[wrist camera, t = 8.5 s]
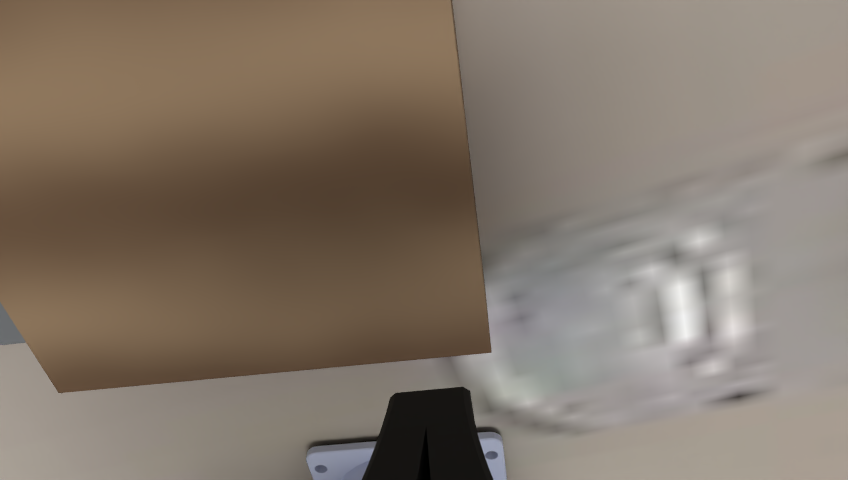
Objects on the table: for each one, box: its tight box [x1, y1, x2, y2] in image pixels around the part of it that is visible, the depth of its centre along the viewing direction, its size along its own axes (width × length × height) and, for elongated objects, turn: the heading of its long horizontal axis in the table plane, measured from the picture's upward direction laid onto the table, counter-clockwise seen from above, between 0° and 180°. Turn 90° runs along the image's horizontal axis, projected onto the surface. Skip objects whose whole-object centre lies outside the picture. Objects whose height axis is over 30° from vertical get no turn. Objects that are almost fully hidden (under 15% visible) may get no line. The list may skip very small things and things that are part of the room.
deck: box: [0, 0, 491, 393], centre depth 19 cm, size 12×14×3 cm
